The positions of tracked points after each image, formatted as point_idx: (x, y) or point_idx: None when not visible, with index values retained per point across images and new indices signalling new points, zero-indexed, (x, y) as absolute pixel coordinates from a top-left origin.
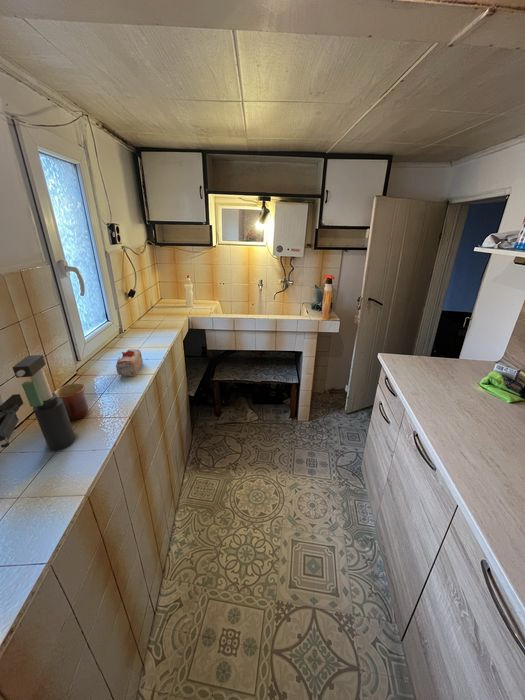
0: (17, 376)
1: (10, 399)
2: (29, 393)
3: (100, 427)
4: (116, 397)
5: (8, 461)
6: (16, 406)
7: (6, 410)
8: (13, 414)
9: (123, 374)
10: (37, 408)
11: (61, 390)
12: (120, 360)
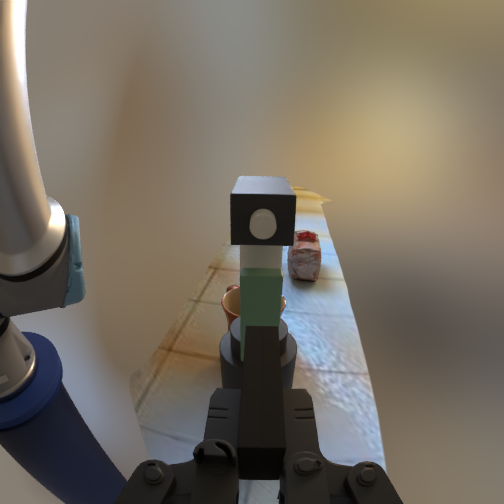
0: (237, 239)
1: (260, 358)
2: (255, 315)
3: (325, 397)
4: (311, 322)
5: (154, 456)
6: (311, 407)
7: (315, 455)
8: (396, 493)
9: (299, 275)
10: (237, 358)
11: (230, 298)
12: (297, 247)
